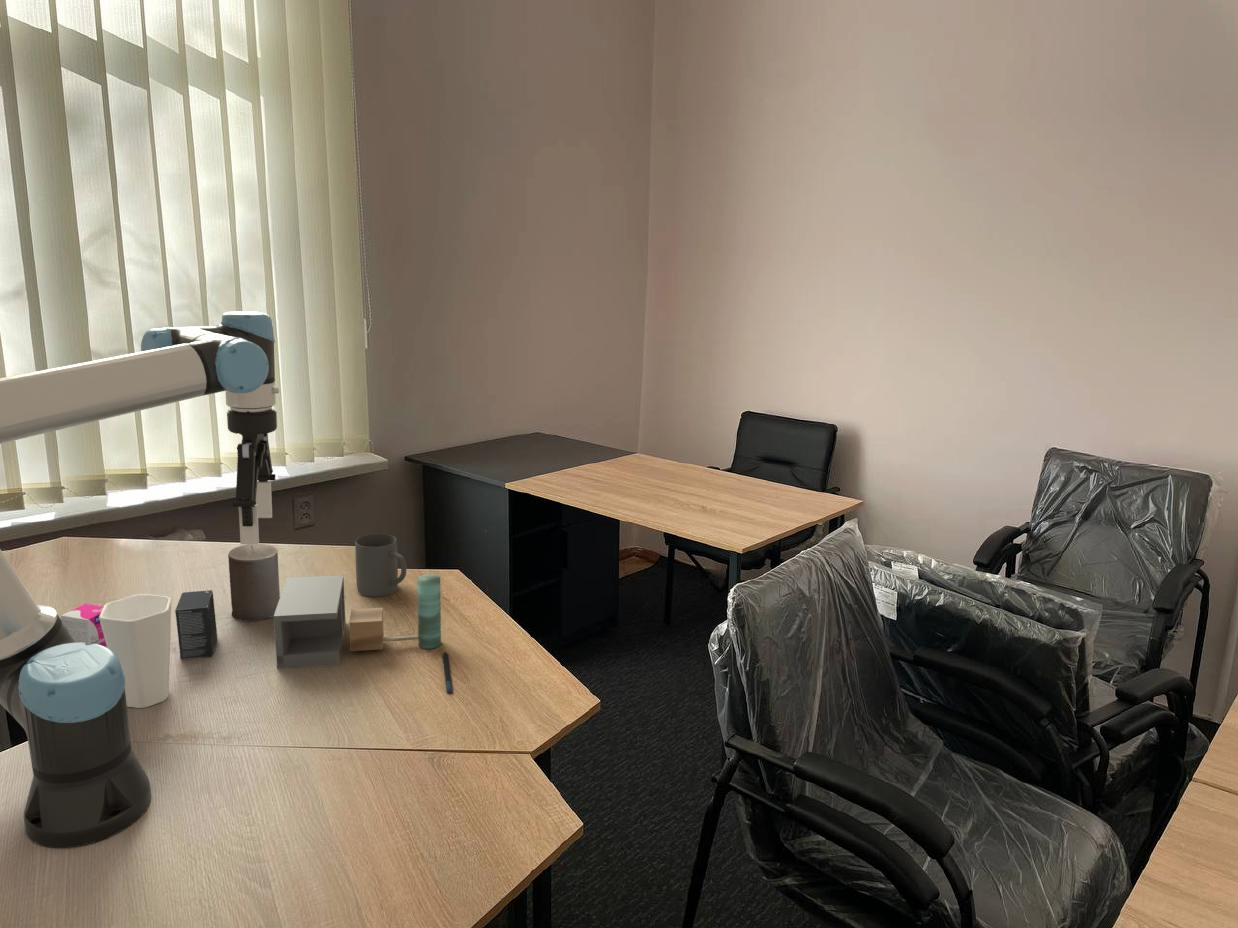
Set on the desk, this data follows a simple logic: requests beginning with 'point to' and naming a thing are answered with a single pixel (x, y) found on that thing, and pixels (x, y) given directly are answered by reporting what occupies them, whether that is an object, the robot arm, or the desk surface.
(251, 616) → the pillar candle
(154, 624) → the cup
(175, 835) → the desk surface
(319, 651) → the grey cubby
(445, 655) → the pen
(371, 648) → the tethered cylinder
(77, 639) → the supplement box
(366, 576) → the mug
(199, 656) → the box
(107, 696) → the robot arm
